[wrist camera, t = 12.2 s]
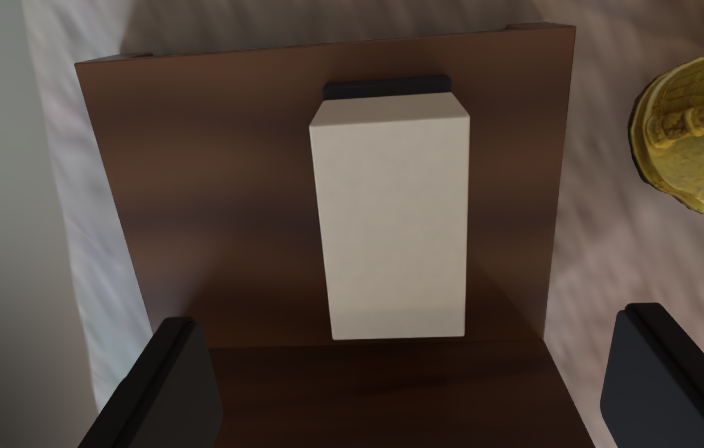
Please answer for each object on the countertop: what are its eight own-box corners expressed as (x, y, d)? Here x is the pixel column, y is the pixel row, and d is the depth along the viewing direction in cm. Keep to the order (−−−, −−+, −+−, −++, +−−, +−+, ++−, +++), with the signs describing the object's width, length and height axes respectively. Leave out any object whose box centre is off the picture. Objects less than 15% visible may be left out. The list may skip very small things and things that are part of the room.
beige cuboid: (325, 82, 22) (306, 109, 16) (447, 74, 21) (470, 99, 16) (346, 308, 27) (337, 387, 21) (446, 305, 26) (463, 385, 21)
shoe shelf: (116, 54, 26) (-79, 94, 15) (547, 21, 24) (687, 39, 13) (185, 322, 33) (87, 483, 22) (523, 312, 31) (601, 481, 20)
